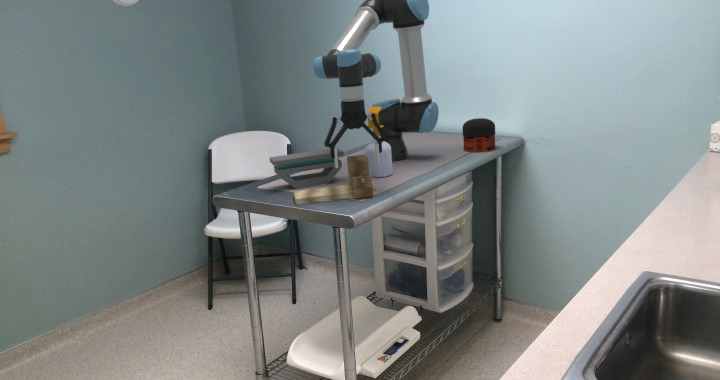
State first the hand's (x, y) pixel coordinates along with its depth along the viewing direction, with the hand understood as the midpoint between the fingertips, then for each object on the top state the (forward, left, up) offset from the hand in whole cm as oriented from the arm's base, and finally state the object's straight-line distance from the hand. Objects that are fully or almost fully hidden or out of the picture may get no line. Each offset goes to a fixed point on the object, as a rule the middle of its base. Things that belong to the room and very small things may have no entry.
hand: (357, 165), depth 201 cm
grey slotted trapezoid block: (+15, -20, -10) cm, 27 cm away
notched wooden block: (0, +2, -9) cm, 9 cm away
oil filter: (-57, -44, -10) cm, 73 cm away
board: (+8, 0, -9) cm, 13 cm away
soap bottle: (-11, -21, -10) cm, 26 cm away
